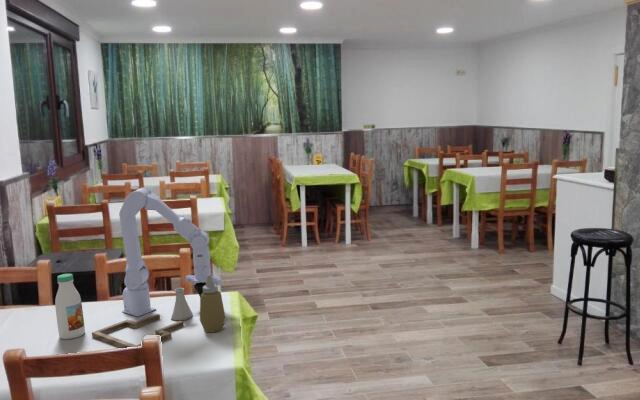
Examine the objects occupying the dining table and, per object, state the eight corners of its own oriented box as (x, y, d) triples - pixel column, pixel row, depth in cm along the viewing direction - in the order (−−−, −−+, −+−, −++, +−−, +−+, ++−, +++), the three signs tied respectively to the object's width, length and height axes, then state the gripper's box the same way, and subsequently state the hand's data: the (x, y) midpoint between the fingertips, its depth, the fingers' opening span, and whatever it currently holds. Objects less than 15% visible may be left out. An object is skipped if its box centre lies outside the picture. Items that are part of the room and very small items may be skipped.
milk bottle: (59, 341, 174) (51, 280, 171) (58, 333, 181) (51, 274, 178) (86, 336, 177) (79, 275, 174) (84, 328, 184) (77, 270, 181)
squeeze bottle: (202, 325, 182) (197, 272, 179) (227, 323, 182) (223, 270, 180) (199, 335, 174) (194, 279, 171) (225, 333, 174) (220, 277, 172)
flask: (187, 321, 186) (184, 292, 185) (167, 320, 188) (164, 292, 186) (196, 313, 193) (193, 286, 192) (177, 313, 195) (174, 285, 193)
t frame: (92, 337, 177) (91, 332, 176) (149, 315, 193) (148, 311, 193) (135, 353, 163) (135, 348, 163) (192, 328, 180) (192, 324, 179)
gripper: (178, 266, 196) (182, 303, 198) (211, 270, 190) (214, 308, 192) (192, 261, 202) (195, 297, 205) (224, 265, 196) (226, 302, 198)
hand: (205, 302), depth 199 cm, fingers closed
